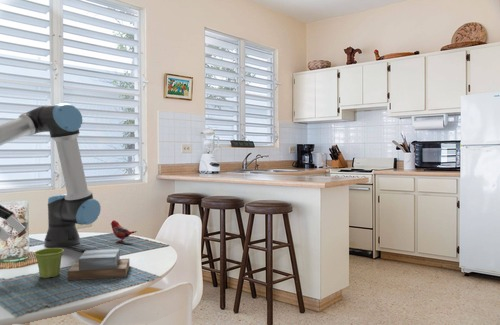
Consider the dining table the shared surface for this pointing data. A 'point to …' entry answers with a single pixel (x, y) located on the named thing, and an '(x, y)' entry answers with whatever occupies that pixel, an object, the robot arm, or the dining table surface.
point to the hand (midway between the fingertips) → (15, 234)
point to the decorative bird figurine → (120, 231)
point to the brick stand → (99, 265)
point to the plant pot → (49, 261)
